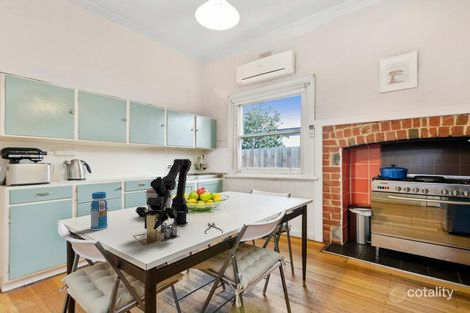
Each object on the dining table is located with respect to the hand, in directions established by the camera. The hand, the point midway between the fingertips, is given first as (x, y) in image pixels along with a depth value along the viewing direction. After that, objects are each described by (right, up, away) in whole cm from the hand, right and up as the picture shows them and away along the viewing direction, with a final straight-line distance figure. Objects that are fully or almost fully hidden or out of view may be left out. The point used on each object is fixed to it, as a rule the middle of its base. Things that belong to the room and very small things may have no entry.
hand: (150, 229), depth 105 cm
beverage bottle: (-38, -8, +25) cm, 46 cm away
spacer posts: (+3, -6, +10) cm, 12 cm away
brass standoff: (0, -6, +1) cm, 6 cm away
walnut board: (0, -7, +8) cm, 11 cm away
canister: (-14, -8, +54) cm, 56 cm away
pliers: (+25, -8, +23) cm, 35 cm away
